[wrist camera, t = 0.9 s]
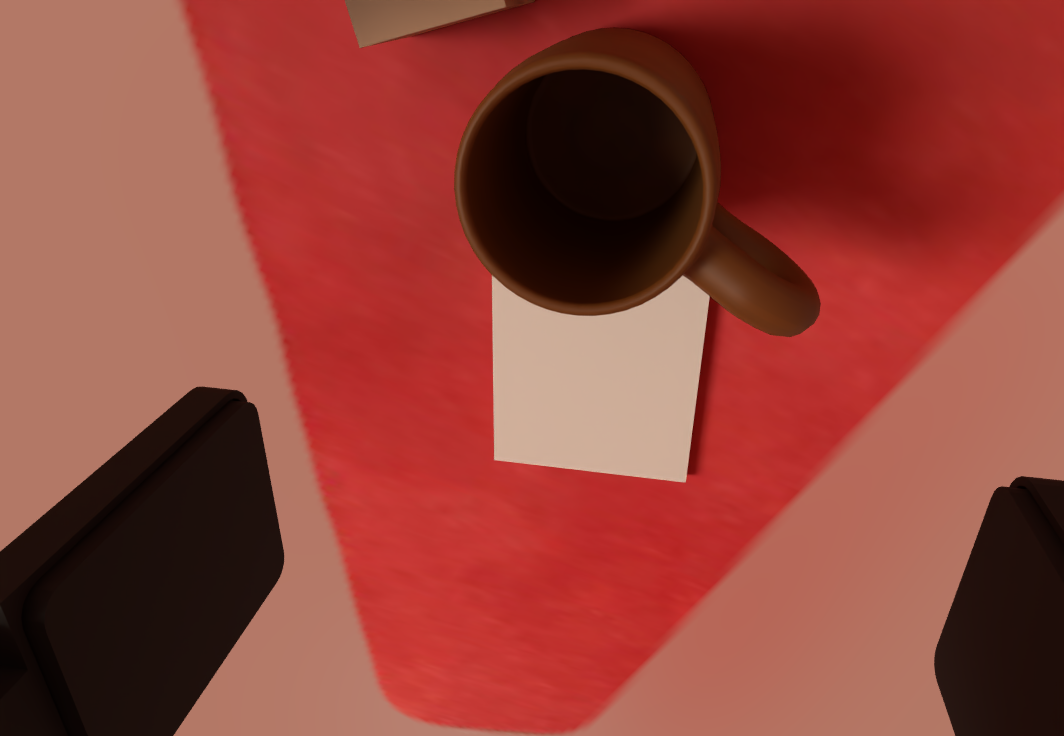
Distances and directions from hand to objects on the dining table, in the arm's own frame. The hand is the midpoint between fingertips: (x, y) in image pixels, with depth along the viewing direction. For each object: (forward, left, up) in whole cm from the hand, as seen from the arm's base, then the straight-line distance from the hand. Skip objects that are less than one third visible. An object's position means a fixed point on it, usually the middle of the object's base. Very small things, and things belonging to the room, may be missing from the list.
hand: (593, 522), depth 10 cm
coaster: (+9, -2, -22) cm, 24 cm away
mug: (0, 0, -22) cm, 22 cm away
